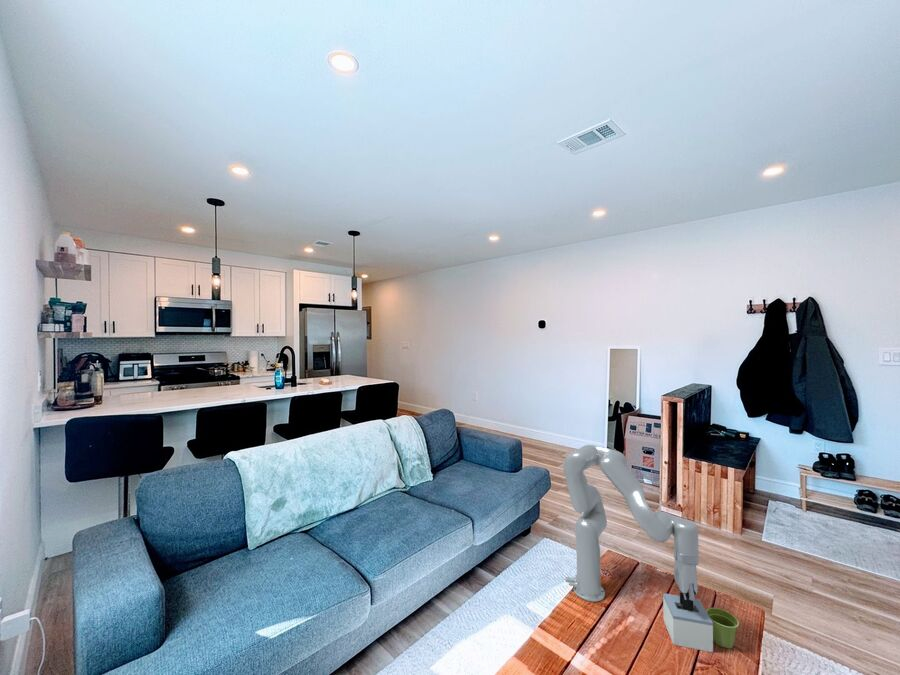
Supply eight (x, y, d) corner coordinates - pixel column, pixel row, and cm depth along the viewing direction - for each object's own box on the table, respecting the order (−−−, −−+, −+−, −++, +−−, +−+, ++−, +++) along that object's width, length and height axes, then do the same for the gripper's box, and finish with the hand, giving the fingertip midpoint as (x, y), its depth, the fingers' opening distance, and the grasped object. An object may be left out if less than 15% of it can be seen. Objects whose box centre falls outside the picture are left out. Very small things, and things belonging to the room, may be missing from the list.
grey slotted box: (673, 644, 128) (673, 615, 128) (663, 619, 140) (663, 593, 140) (713, 652, 125) (712, 622, 125) (699, 626, 137) (699, 599, 137)
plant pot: (700, 636, 132) (699, 611, 132) (716, 628, 136) (716, 604, 136) (728, 656, 123) (728, 630, 123) (745, 647, 127) (745, 622, 127)
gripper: (667, 542, 141) (668, 590, 141) (681, 567, 126) (682, 621, 126) (689, 545, 139) (690, 594, 139) (706, 571, 124) (707, 625, 124)
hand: (686, 606), depth 133 cm, fingers closed on grey slotted box, 2 cm apart
